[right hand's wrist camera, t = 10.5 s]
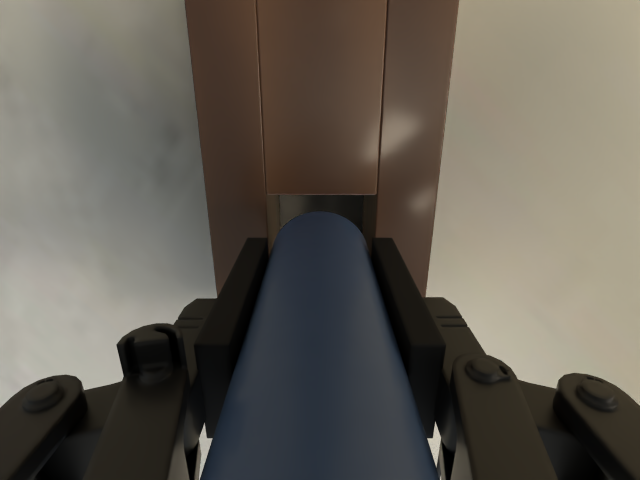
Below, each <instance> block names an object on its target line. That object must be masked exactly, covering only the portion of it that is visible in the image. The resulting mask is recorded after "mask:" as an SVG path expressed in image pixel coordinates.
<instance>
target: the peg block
mask: <svg viewBox="0 0 640 480" xmlns="http://www.w3.org/2000/svg"><path fill="white" fill-rule="evenodd" d="M458 5H459V0H185V8H186V18H187V27H188V36H189V45H190V54H191V63H192V72H193V81H194V90H195V99H196V108H197V117H198V126H199V135H200V144H201V153H202V162H203V171H204V180H205V190H206V199H207V208H208V217H209V226H210V235H211V244H212V253H213V262H214V271H215V280H216V289H217V297H218V295H219V293H220V291H221V289H222V287H223V285H224V283H225V281H226V279H227V277H228V275H229V273H230V271H231V269H232V267H233V265H234V263H235V262H236V260H237V258H238V256H239V254H240V252H241V250H242V248H243V246H244V244H245V242H246V240H247V238H268V256H270V253H271V250H272V247H273V243H274V240H275V238H276V236H277V234H278V233H279V231H280V210H279V195H364V201H363V225H362V235H363V237H364V239H365V241H366V244H367V247H368V250H369V254H370V257H371V251H372V238H393V240H394V242H395V244H396V246H397V248H398V250H399V252H400V254H401V256H402V258H403V260H404V262H405V264H406V266H407V268H408V270H409V272H410V274H411V276H412V278H413V280H414V282H415V284H416V286H417V288H418V290H419V292H420V294H421V296H422V297H425V296H426V287H427V278H428V270H429V261H430V252H431V243H432V234H433V226H434V217H435V208H436V199H437V190H438V182H439V173H440V164H441V155H442V146H443V137H444V129H445V120H446V111H447V102H448V93H449V85H450V76H451V67H452V58H453V49H454V41H455V32H456V23H457V14H458Z"/></svg>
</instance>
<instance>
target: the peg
mask: <svg viewBox="0 0 640 480" xmlns="http://www.w3.org/2000/svg"><path fill="white" fill-rule="evenodd" d="M200 480H440V478H439V475H438V472H437V469H436V465H435V462H434V459H433V456H432V453H431V449H430V446H429V443H428V440H427V437H426V433H425V430H424V427H423V424H422V421H421V417H420V414H419V411H418V408H417V404H416V401H415V398H414V395H413V392H412V388H411V385H410V382H409V379H408V376H407V372H406V369H405V366H404V363H403V360H402V356H401V353H400V350H399V347H398V343H397V340H396V337H395V334H394V331H393V327H392V324H391V321H390V318H389V315H388V311H387V308H386V305H385V302H384V299H383V295H382V292H381V289H380V286H379V282H378V279H377V276H376V273H375V270H374V266H373V263H372V260H371V257H370V254H369V250H368V247H367V244H366V241H365V239H364V237H363V235H362V233H361V232H360V230H359V229H358V228H357V227H356V226H355V225H354V224H353V223H352V222H351V221H349V220H348V219H346V218H345V217H343V216H340V215H338V214H335V213H331V212H324V211H316V212H309V213H305V214H302V215H299V216H297V217H295V218H294V219H292V220H290V221H289V222H288V223H287V224H286V225H284V227H283V228H282V229H281V230H280V231H279V233H278V234H277V236H276V238H275V240H274V243H273V247H272V250H271V253H270V256H269V259H268V263H267V266H266V269H265V272H264V275H263V279H262V282H261V285H260V288H259V291H258V295H257V298H256V301H255V304H254V308H253V311H252V314H251V317H250V320H249V324H248V327H247V330H246V333H245V336H244V340H243V343H242V346H241V349H240V353H239V356H238V359H237V362H236V365H235V369H234V372H233V375H232V378H231V381H230V385H229V388H228V391H227V394H226V397H225V401H224V404H223V407H222V410H221V414H220V417H219V420H218V423H217V426H216V430H215V433H214V436H213V439H212V442H211V446H210V449H209V452H208V455H207V458H206V462H205V465H204V468H203V471H202V475H201V478H200Z"/></svg>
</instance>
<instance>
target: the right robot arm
mask: <svg viewBox="0 0 640 480" xmlns="http://www.w3.org/2000/svg"><path fill="white" fill-rule="evenodd" d="M268 259H269V256H268V238H247V240H246V242H245V244H244V246H243V248H242V250H241V252H240V254H239V256H238V258H237V260H236V262H235V263H234V265H233V267H232V269H231V271H230V273H229V275H228V277H227V279H226V281H225V283H224V285H223V287H222V289H221V291H220V293H219V295H218V297H217V299H196V300H194V301H193V302H191V303H190V304H189V305H187V306H186V307H185V308H184V309H183V311H182V312H181V314H180V315H179V317H178V320H176V322H175V323H174V325H171V324H168V323H157V324H151V325H147V326H143V327H140V328H138V329H135V330H133V331H131V332H130V333H128V334H127V335H125V336H124V337H122V338H121V340H120V341H119V342H118V343H117V349H118V353H119V358H120V362H121V366H122V370H123V375H124V377H123V380H122V381H121V382H118V383H114V384H111V385H106V386H102V387H97V388H93V389H88V390H84V389H83V386H82V382H81V381H80V380H79V379H78V378H77V377H75V376H70V375H58V376H51V377H48V378H44V379H41V380H38V381H36V382H34V383H32V384H30V385H28V386H26V387H24V388H23V389H22V390H20V391H19V392H18V393H16V394H15V395H14V396H12V397H11V398H10V399H9V400H8V401H7V402H6V403H5V404H4V405H3V406H2V407H1V408H0V480H199V471H200V461H201V450H200V443H199V437H200V434H201V431H202V428H203V425H204V423H205V427H206V434H207V438H213V436H214V433H215V430H216V426H217V423H218V420H219V417H220V414H221V410H222V407H223V404H224V401H225V397H226V394H227V391H228V388H229V385H230V381H231V378H232V375H233V372H234V369H235V365H236V362H237V359H238V356H239V353H240V349H241V346H242V343H243V340H244V336H245V333H246V330H247V327H248V324H249V320H250V317H251V314H252V311H253V308H254V304H255V301H256V298H257V295H258V291H259V288H260V285H261V282H262V279H263V275H264V272H265V269H266V266H267V263H268ZM371 260H372V263H373V266H374V270H375V273H376V276H377V279H378V282H379V286H380V289H381V292H382V295H383V299H384V302H385V305H386V308H387V311H388V315H389V318H390V321H391V324H392V327H393V331H394V334H395V337H396V340H397V343H398V347H399V350H400V353H401V356H402V360H403V363H404V366H405V369H406V372H407V376H408V379H409V382H410V385H411V388H412V392H413V395H414V398H415V401H416V404H417V408H418V411H419V414H420V417H421V421H422V424H423V427H424V430H425V433H426V437H427V438H433V432H434V426H435V421H436V424H437V427H438V430H439V433H440V436H441V443H440V449H439V456H438V462H437V468H436V469H437V472H438V475H439V478H440V476H441V480H640V406H639V405H638V404H637V403H636V402H635V401H634V400H633V399H632V398H631V397H630V396H629V395H628V394H626V393H625V392H623V391H622V390H621V389H619V388H618V387H617V386H615V385H613V384H611V383H609V382H607V381H605V380H603V379H601V378H598V377H594V376H591V375H588V374H579V373H572V374H567V375H564V376H563V377H561V378H560V379H559V381H558V385H557V388H556V389H555V388H550V387H546V386H541V385H536V384H532V383H528V382H524V381H521V380H518V379H517V377H516V375H515V374H514V372H513V371H512V369H511V368H510V367H509V366H507V365H506V364H505V363H504V362H502V361H501V360H498V359H496V358H494V357H492V356H489V355H486V353H485V352H484V350H483V349H482V347H481V346H480V344H479V342H478V341H477V339H476V338H475V336H474V335H473V333H472V332H471V330H470V328H469V327H467V324H466V322H465V321H464V319H463V318H462V316H461V314H460V313H459V311H458V310H457V308H456V306H454V305H453V304H452V303H450V302H449V301H447V300H446V299H445V298H443V297H422V296H421V294H420V292H419V290H418V288H417V286H416V284H415V282H414V280H413V278H412V276H411V274H410V272H409V270H408V268H407V266H406V264H405V262H404V260H403V258H402V256H401V254H400V252H399V250H398V248H397V246H396V244H395V242H394V240H393V238H372V251H371Z"/></svg>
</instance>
